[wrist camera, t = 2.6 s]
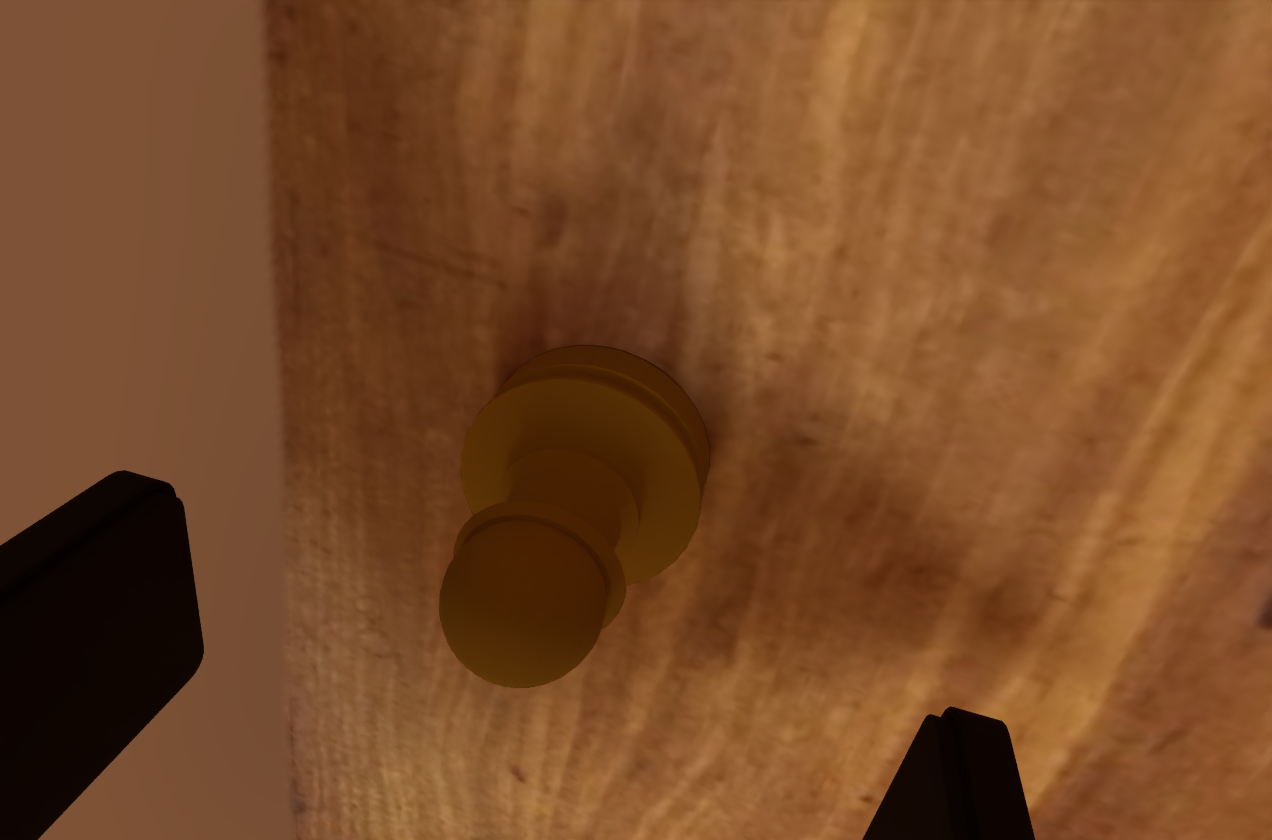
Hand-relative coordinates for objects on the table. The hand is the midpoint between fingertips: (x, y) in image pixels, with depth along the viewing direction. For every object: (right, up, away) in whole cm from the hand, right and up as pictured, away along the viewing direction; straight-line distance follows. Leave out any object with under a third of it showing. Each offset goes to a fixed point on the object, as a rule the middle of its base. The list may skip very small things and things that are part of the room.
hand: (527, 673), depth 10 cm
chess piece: (+1, +3, +4) cm, 5 cm away
